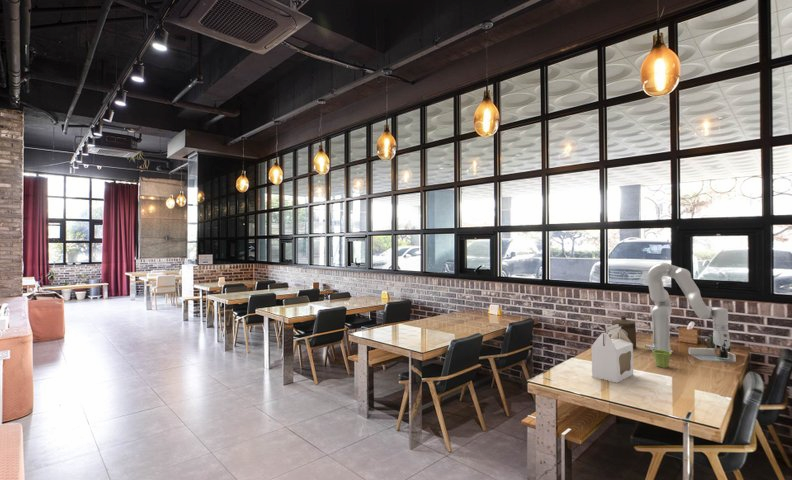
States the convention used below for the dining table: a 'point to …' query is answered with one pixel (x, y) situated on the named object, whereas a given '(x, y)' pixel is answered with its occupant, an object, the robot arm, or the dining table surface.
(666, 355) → the plant pot
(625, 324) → the wooden container
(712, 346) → the mug
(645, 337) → the dining table surface
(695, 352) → the arena
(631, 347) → the gable box
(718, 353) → the walnut block
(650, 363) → the dining table surface
